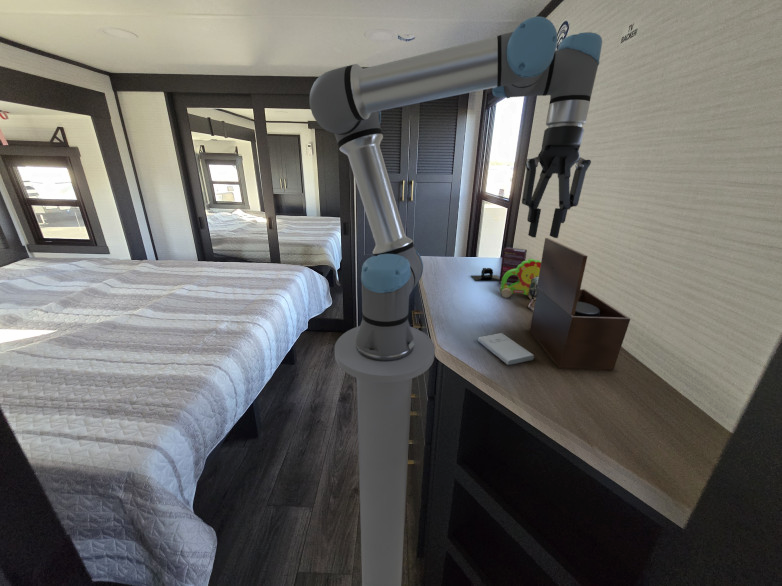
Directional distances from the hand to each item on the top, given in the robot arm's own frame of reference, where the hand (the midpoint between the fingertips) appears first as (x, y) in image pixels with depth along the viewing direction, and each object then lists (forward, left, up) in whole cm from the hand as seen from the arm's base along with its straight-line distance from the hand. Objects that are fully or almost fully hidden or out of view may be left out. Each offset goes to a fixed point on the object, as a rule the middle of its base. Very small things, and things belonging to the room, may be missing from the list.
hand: (542, 236), depth 75 cm
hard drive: (0, -5, -31) cm, 31 cm away
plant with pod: (-19, +24, -31) cm, 43 cm away
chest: (+4, +12, -31) cm, 33 cm away
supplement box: (-43, +30, -31) cm, 61 cm away
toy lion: (-31, +26, -31) cm, 51 cm away
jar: (+5, +13, -30) cm, 33 cm away
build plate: (-54, +26, -31) cm, 67 cm away
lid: (+2, +6, -9) cm, 11 cm away
